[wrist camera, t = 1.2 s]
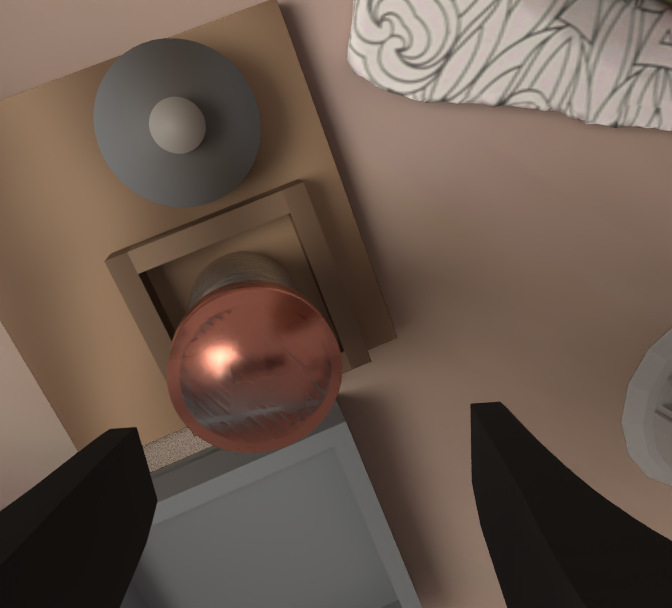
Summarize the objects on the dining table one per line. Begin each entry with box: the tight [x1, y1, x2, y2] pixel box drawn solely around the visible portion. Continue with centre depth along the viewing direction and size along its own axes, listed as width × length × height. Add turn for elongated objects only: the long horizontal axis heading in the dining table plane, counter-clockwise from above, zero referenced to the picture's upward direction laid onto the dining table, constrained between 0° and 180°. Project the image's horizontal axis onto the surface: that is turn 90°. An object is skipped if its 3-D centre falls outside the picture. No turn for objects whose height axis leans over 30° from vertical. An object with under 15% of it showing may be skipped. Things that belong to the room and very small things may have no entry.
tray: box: [120, 400, 422, 608], centre depth 26 cm, size 12×12×2 cm
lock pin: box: [167, 251, 342, 453], centre depth 19 cm, size 5×5×7 cm
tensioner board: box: [0, 0, 397, 452], centre depth 21 cm, size 13×13×4 cm
